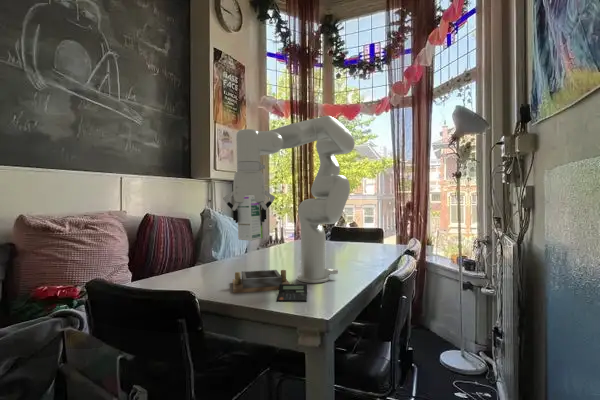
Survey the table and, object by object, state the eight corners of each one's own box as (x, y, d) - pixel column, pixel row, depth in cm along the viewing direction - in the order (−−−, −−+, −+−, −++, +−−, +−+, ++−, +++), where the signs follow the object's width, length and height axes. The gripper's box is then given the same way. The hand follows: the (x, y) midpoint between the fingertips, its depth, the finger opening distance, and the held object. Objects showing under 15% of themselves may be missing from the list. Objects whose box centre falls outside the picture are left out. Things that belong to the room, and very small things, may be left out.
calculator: (276, 302, 107) (276, 293, 107) (279, 292, 119) (279, 283, 119) (306, 303, 107) (306, 293, 107) (307, 292, 118) (307, 283, 118)
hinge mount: (284, 279, 136) (284, 266, 136) (291, 289, 121) (291, 274, 121) (232, 282, 132) (232, 268, 132) (233, 292, 117) (233, 277, 117)
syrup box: (251, 240, 109) (250, 194, 109) (237, 239, 112) (236, 194, 112) (262, 238, 114) (261, 194, 114) (249, 237, 117) (248, 194, 117)
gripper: (273, 169, 118) (274, 220, 118) (221, 169, 115) (222, 222, 115) (277, 167, 111) (278, 222, 111) (221, 167, 107) (222, 224, 107)
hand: (249, 222), depth 113 cm, fingers closed on syrup box, 8 cm apart
